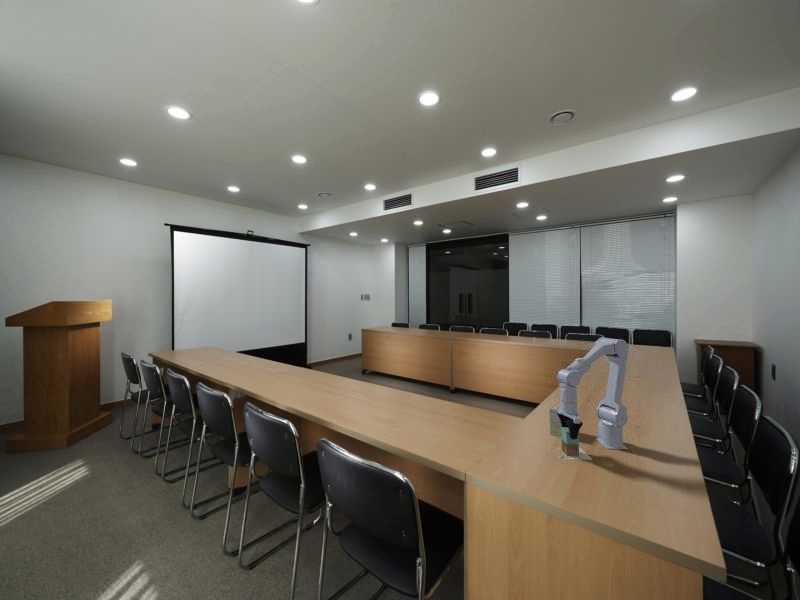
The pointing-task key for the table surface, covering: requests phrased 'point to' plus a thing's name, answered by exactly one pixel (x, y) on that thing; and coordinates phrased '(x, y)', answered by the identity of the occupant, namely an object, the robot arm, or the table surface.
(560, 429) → the box
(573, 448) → the brick walnut
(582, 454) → the baseplate
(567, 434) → the brick teal
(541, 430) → the table surface
